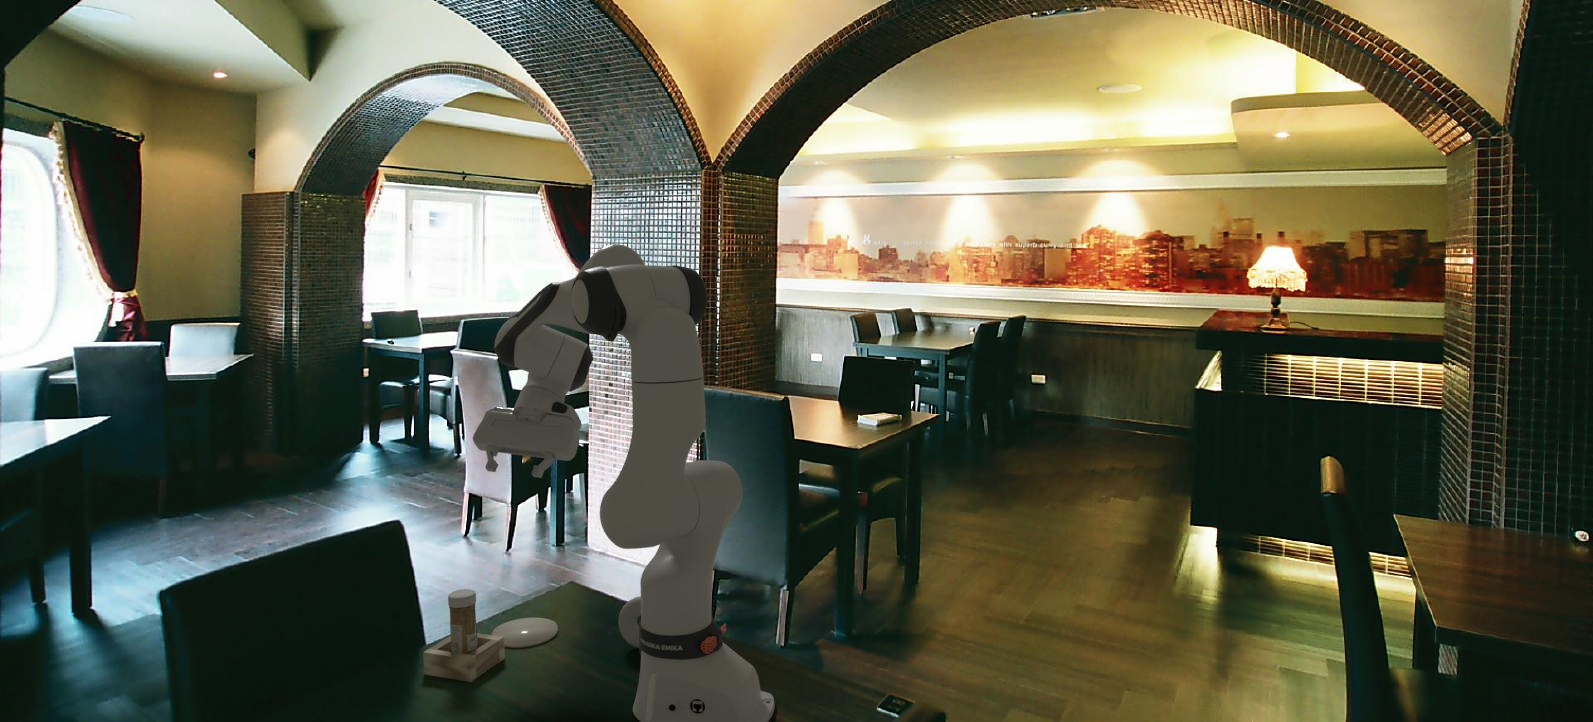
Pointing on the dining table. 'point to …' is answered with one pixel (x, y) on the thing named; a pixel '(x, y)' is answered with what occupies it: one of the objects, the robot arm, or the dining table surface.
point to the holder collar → (464, 658)
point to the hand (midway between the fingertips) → (513, 473)
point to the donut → (630, 621)
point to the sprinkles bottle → (463, 621)
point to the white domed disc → (526, 631)
